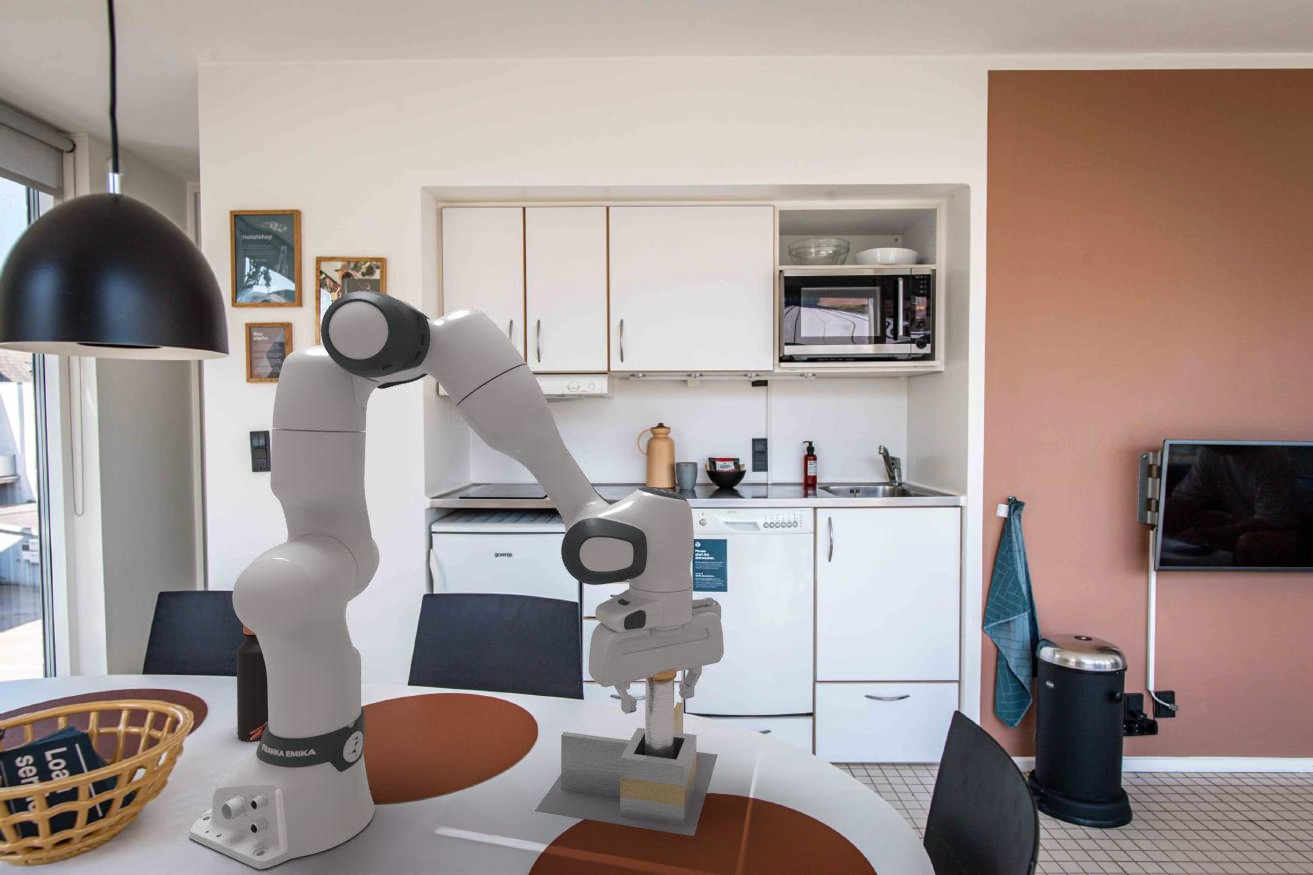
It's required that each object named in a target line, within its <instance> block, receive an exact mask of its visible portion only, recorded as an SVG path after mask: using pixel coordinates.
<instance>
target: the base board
mask: <svg viewBox="0 0 1313 875" xmlns="http://www.w3.org/2000/svg"><path fill="white" fill-rule="evenodd" d="M717 758H718V754H717V753H716V754H715V753H707V752H700V751H696V791H695V794H694V797H693V801H692V804H691V807H690V810H689V813H688V816H687V820H686V823H685V826H677V825H671V824H665V823H658V822H652V821H646V820H639V819H633V818H626V817H620V799H618V798H611V797H604V796H598V795H591V794H584V793H578V792H571V791H564V790H561V774H560V775H559V776H558V778H557V779H556V780H555V782H554V783H553V785H552V786H551V787H550V789H549V790H548V792H546V795H545V796H544V797H543V799H542V800H541V802H539V804H538V806H537V807H536V809H534V811H535V812H539V813H543V814H544V813H545V814H551V815H552V814H553V815H557V816H563V817H564V816H565V817H568V818H569V817H570V818H577V819H582V820H589V821H595V822H601V823H606V824H607V823H608V824H614V825H620V826H626V827H627V826H628V827H632V828H640V829H645V830H646V829H647V830H653V831H657V832H663V833H664V832H665V833H669V834H678V835H683V836H687V837H688V836H689V837H695V834H696V831H697V828H698V825H699V821H700V817H701V813H702V812H703V811H702V809H703V807H704V803H705V801H706V797H707V792H708V790H709V786H710V783H711V782H710V781H711V780H712V779H711V778H712V775H713V771H714V768H715V764H716V762H717Z"/></svg>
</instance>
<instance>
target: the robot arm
mask: <svg viewBox="0 0 1313 875" xmlns="http://www.w3.org/2000/svg"><path fill="white" fill-rule="evenodd" d="M320 324H321V325H320V335H321V341H322V344H323V345H322V344H318V345H314V344H313V345H307V346H303V347H301V348H297V349H296V350H295V349H294V350H293V351H291V352H290V353H289V354H288V355H287V356H286V357H285V358H284V360H283V362H282V365H281V368H280V372H279V377H278V382H277V386H276V392H275V396H274V402H273V404H274V405H273V412H272V413H273V414H272V426H271V428H272V429H271V449H270V450H271V454H270V456H271V457H270V483H269V484H270V489H271V492H272V493H273V495H274V496H275V498H277V500H278V501H279V503H280V505H281V508H282V511H283V514H284V518H285V523H286V528H287V538H286V540H287V541H285V542H283V543H281V544H278V545H275V546H273V547H271V548H269V549H267V550H266V551H264V552H262V553H261V554H260V555H258V557H256V558H255V559H254V560H253V561H252V562H251V563H249V565H247V567H245V569H243V570H242V572H240V574H239V575H238V577H237V578H236V581H235V583H234V586H233V589H232V597H231V598H232V605H233V606H232V607H233V609H234V610H233V611H234V612H235V615H236V616H237V618H238V619H239V621H240V622H241V623H242V625H243V624H244V625H245V626H246V627H247V628H248V629H250V630H251V631H253V632H254V633H255V634H256V636H257V639H258V641H259V644H260V647H261V650H262V653H263V657H264V661H265V665H266V671H267V685H268V721H267V722H265V725H263V726H261V727H260V728H258V729H256V730H254V731H252V732H251V733H250V734H253V733H255V732H257V731H258V733H256V734H255V735H254V736H253V737H252V738H251V739H250V740H251V741H250V742H253V741H252V740H254V739H256V738H257V737H259V736H261V735H262V737H261V740H259V743H258V745H257V748H256V750H255V751H254V752H253V753H251V754H249V755H248V756H247V757H246V758H245V759H243V760H242V761H241V762H239V764H237V765H236V766H235V767H233V768H232V769H231V770H230V771H228V772H227V773H226V774H225V775H223V777H222V778H221V779H220V781H219V782H218V784H217V785H216V788H215V790H214V793H213V799H212V806H211V807H210V808H209V809H208V810H206V811H205V812H204V813H203V814H202V815H200V817H198V819H197V820H196V821H195V822H194V823H193V824H192V826H191V828H190V830H189V838H190V839H191V840H193V841H195V842H197V843H199V844H201V845H204V846H206V847H208V848H210V849H212V850H214V851H217V852H220V853H222V854H224V855H225V856H228V857H231V858H233V859H234V860H237V861H239V862H241V863H244V864H245V865H247V866H250V867H253V868H254V869H258V870H265V869H269V868H271V867H274V866H277V865H279V864H282V863H284V862H286V861H289V860H291V859H296V858H301V857H304V856H309V855H310V856H311V855H313V854H317V853H321V852H323V851H327V850H329V849H332V848H334V847H336V846H339V845H341V844H343V843H345V842H347V841H348V840H350V839H351V838H353V837H355V836H356V835H357V834H359V833H360V832H361V831H362V830H364V829H365V828H366V827H367V826H368V824H369V823H370V822H371V820H372V819H373V817H374V815H375V811H376V806H375V803H374V800H373V796H372V794H371V790H370V786H369V781H368V776H367V771H366V763H365V762H366V761H365V757H364V746H365V740H366V717H365V710H364V707H362V656H361V653H360V651H359V650H358V649H357V647H355V646H354V645H353V642H352V640H351V639H352V638H351V635H350V631H349V628H348V623H347V617H346V616H347V607H348V603H349V602H350V601H352V600H354V599H355V598H356V597H358V596H359V595H360V594H362V593H363V592H364V591H365V590H366V589H367V588H368V586H369V585H370V583H371V581H372V580H373V579H374V576H375V575H376V572H377V571H378V568H379V565H380V551H379V547H378V545H377V542H376V541H375V539H374V538H373V535H372V530H371V529H372V528H371V523H370V517H369V516H370V515H369V511H368V506H367V505H368V504H367V499H366V490H365V487H366V486H365V472H366V471H365V469H366V440H367V439H366V436H367V433H366V432H367V408H368V403H369V399H370V396H371V394H372V393H373V391H375V389H376V388H377V389H379V390H385V389H388V388H389V389H390V388H392V387H396V386H400V385H405V384H409V383H412V382H416V381H419V380H420V379H423V378H424V377H426V376H428V375H429V376H431V377H432V378H433V379H435V380H436V381H437V382H438V383H439V384H440V387H442V389H443V390H444V391H445V393H446V394H447V395H448V396H449V399H450V400H451V402H452V403H453V405H454V407H455V408H456V409H457V411H458V413H459V414H460V415H461V417H462V418H463V419H464V421H465V422H466V423H467V425H468V426H469V428H470V429H472V431H473V432H474V433H475V434H476V435H477V436H478V437H479V438H480V440H482V441H483V442H484V443H485V444H486V445H487V446H488V447H489V448H491V449H493V450H495V451H497V452H499V453H501V454H503V455H505V456H508V457H510V458H511V459H513V460H515V461H516V462H518V463H520V465H522V466H524V467H525V468H526V470H528V471H529V472H530V473H531V475H532V476H533V477H534V478H535V480H536V481H537V483H538V484H539V486H541V488H542V490H543V491H544V493H545V494H546V496H547V497H548V498H549V500H550V501H551V503H552V504H553V506H554V507H555V508H556V511H558V513H559V515H560V516H561V518H562V521H563V525H564V529H565V534H564V535H563V539H562V542H561V547H560V553H561V554H560V555H561V556H560V557H561V560H562V564H563V566H564V567H565V569H566V570H567V573H569V574H570V576H572V577H573V578H574V579H576V580H577V581H579V582H580V583H583V584H586V585H591V586H599V585H607V584H615V583H620V582H625V581H628V583H629V584H628V589H626V590H624V591H623V592H621V593H619V594H618V595H616V596H613V597H612V598H610V599H609V598H608V600H605V601H604V602H602V603H599V604H598V605H597V606H596V607H595V613H594V614H595V619H596V620H597V621H598V622H599V623H598V624H597V625H596V626H595V628H594V629H593V632H592V633H591V634H592V635H591V637H590V638H591V639H590V645H589V652H588V653H589V656H588V673H589V675H590V678H592V679H593V681H594V682H596V683H597V684H598V685H600V686H601V687H603V688H608V687H614V688H615V690H616V692H617V694H618V695H619V697H620V707H621V708H620V709H621V711H622V712H623V713H624V714H626V715H627V714H628V715H629V714H631V713H635V712H637V703H638V701H637V700H638V699H636V698H635V697H633V695H631V694H629V692H628V691H629V690H630V689H631V682H636V681H641V680H644V679H645V680H646V678H650V677H655V676H656V675H657V674H659V673H664V672H668V671H672V670H676V672H677V673H678V672H682V671H685V670H686V671H687V673H686V676H685V678H684V680H683V682H680V683H679V684H678V688H679V691H678V694H679V697H680V698H683V700H688V699H692V698H694V697H695V686H696V685H697V683H698V681H699V679H700V677H701V675H702V674H703V671H702V670H703V667H704V666H708V665H715V664H718V663H720V662H721V660H722V658H723V656H724V653H725V651H724V650H725V646H724V634H723V632H724V631H723V626H722V606H721V604H720V603H719V601H717V600H716V599H714V598H713V597H705V598H703V599H702V598H701V599H693V596H694V595H693V593H694V591H693V589H694V588H693V587H694V581H693V577H692V573H691V565H692V560H693V558H694V551H695V550H694V548H695V547H694V545H695V544H694V541H695V539H694V538H695V537H694V536H695V534H694V531H695V530H694V519H693V511H692V506H691V504H690V503H689V501H688V500H687V499H686V497H684V496H683V495H681V494H680V493H678V492H676V491H672V490H670V489H665V488H659V487H654V486H652V487H651V486H643V487H639V488H637V489H636V490H635V491H633V492H632V493H631V494H629V495H628V496H626V497H624V498H622V499H621V500H619V501H617V502H614V503H613V502H611V501H609V500H608V499H606V498H605V497H603V496H602V495H601V494H599V492H598V491H597V490H596V489H595V487H594V486H593V485H592V484H591V482H590V481H589V479H588V477H587V476H586V475H585V473H584V472H583V470H582V468H581V467H580V466H579V465H578V463H577V461H576V460H575V459H574V458H573V455H572V454H571V453H570V451H569V450H568V448H567V447H566V444H565V442H564V441H563V438H562V436H561V434H560V431H559V429H558V425H557V423H556V421H555V418H554V415H553V413H552V410H551V408H550V406H549V405H550V404H549V402H548V400H547V398H546V396H545V394H544V392H543V390H542V387H541V385H540V384H539V381H538V380H537V377H536V376H535V374H534V373H533V371H532V370H531V368H530V366H529V365H528V364H527V361H525V359H524V358H523V356H522V355H521V353H520V351H518V349H517V348H516V346H515V345H514V344H513V343H512V341H511V340H510V339H509V338H508V336H507V335H506V334H505V332H503V331H502V330H501V329H500V328H499V326H498V325H497V324H496V323H495V322H494V321H493V320H492V319H491V318H490V316H488V315H487V314H486V313H484V312H483V311H481V310H479V309H476V308H469V307H468V308H459V309H455V310H452V311H449V312H447V313H446V314H444V315H442V316H440V317H437V318H435V319H431V318H430V317H428V316H427V315H426V314H424V313H423V312H422V311H420V310H418V308H416V307H414V306H413V305H411V304H410V303H408V302H406V301H404V300H401V299H398V298H395V297H393V296H391V295H389V294H386V293H383V292H379V291H375V290H374V291H373V290H358V291H353V292H348V293H346V294H344V295H341V296H340V297H338V298H337V299H335V300H334V301H332V302H331V304H330V305H329V306H328V308H326V311H325V312H324V315H323V318H322V321H321V323H320ZM627 690H628V691H627Z"/></svg>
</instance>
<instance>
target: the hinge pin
mask: <svg viewBox="0 0 1313 875" xmlns="http://www.w3.org/2000/svg"><path fill="white" fill-rule="evenodd" d="M677 673H678V672H676V670H672V671H668V672H664V673H659V674H657V675H656V676H655V677H650V678H646V679H645V687H644V688H645V697H644V701H645V702H644V704H645V705H644V707H645V708H644V711H645V712H644V724H645V726H644V729H645V756H653V757H660V758H668V759H674V708H675V679H676V678H677V675H678V674H677Z"/></svg>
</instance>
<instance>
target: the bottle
mask: <svg viewBox="0 0 1313 875" xmlns="http://www.w3.org/2000/svg"><path fill="white" fill-rule="evenodd" d="M242 632H243V636H244V637H245V639H244V641H243V642H242V643H241V644H240V646H239V647H238V648H237V650H236V697H237V698H236V701H237V702H236V705H237V706H236V707H237V708H236V716H237V718H236V719H237V720H236V722H237V723H236V724H237V726H236V727H237V732H236V734H237V737H238V739H240V740H242V741H244V742H245V741H246V742H255V741H260V740H261V737H262V735H261V736H259V737H257V738H256V739H254V740H252V741H251V740H250V739H251V738H252V737H253V736H254V735H255V734H256V733H258V731H257V732H255V733H253V734H250V733H251V732H252V731H254V730H256V729H258V728H260V727H261V726H263V725H265V722H267V721H268V685H267V671H266V665H265V661H264V657H263V653H262V650H261V647H260V644H259V641H258V639H257V636H256V634H255V633H254V632H253V631H251V630H250V629H248V628H247V627H246V626H245V625H244V624H243V623H242Z"/></svg>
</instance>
